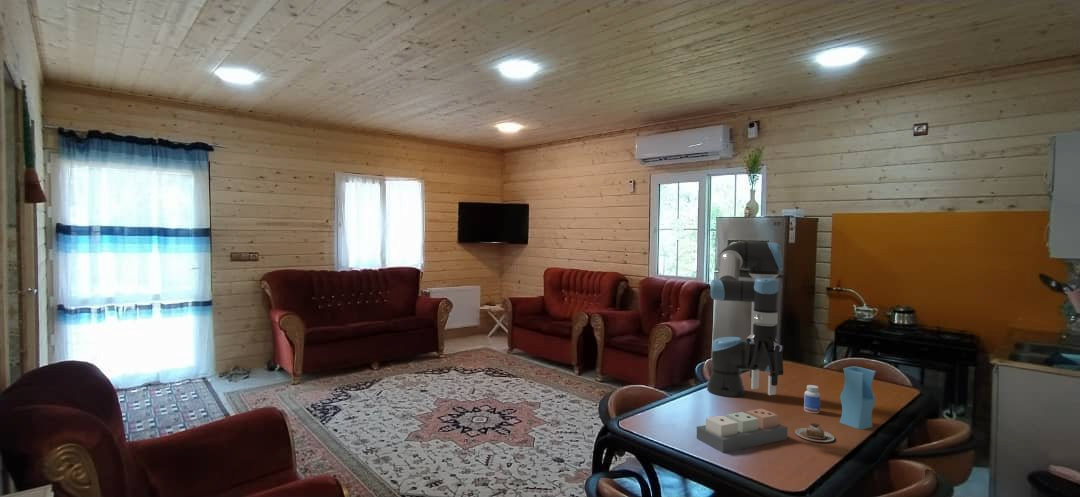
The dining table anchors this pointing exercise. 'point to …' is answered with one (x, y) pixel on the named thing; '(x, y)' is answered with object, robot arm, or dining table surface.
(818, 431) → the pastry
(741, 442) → the keypad
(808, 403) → the pill bottle
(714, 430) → the key
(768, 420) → the key
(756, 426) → the key
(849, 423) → the vase
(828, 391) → the dining table surface
